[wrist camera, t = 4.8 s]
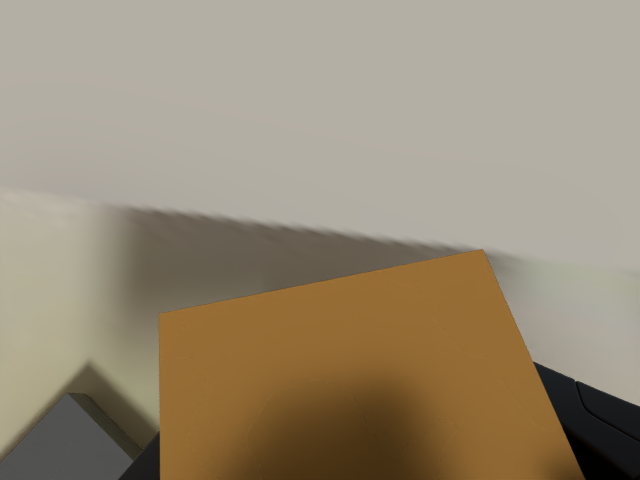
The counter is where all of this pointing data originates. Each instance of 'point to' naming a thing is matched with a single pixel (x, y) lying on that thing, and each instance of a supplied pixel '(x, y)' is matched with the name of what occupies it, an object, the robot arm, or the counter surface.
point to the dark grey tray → (71, 445)
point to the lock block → (359, 383)
